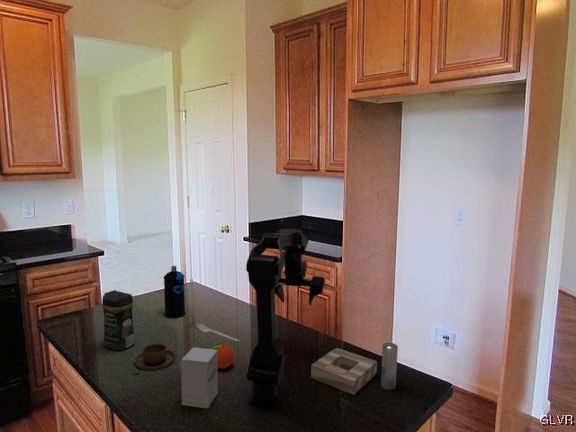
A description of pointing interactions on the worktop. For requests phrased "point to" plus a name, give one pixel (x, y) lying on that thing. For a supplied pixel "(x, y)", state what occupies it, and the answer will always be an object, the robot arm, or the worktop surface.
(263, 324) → the robot arm
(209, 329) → the white plastic spoon
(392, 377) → the peg
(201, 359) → the supplement box
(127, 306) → the coffee jar
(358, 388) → the hole block
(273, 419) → the worktop surface
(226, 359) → the clementine
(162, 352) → the place setting
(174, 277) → the aerosol can
